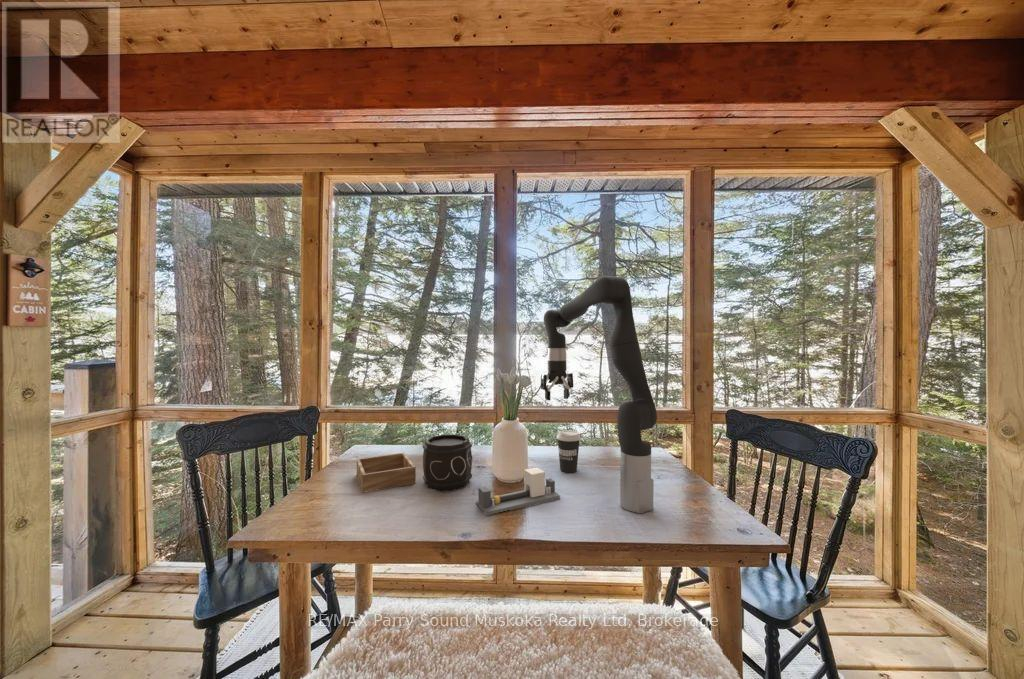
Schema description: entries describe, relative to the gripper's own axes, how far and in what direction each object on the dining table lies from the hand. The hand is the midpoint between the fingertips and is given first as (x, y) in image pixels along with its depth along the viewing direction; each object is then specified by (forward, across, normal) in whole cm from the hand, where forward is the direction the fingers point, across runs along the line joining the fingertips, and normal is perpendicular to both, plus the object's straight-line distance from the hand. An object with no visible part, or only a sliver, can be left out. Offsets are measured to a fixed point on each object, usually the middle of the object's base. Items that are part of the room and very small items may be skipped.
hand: (557, 399), depth 160 cm
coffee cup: (+28, +2, -5) cm, 28 cm away
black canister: (+28, -44, +5) cm, 52 cm away
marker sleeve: (+26, -23, -21) cm, 41 cm away
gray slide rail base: (+28, -29, -21) cm, 45 cm away
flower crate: (+27, -64, +19) cm, 72 cm away
